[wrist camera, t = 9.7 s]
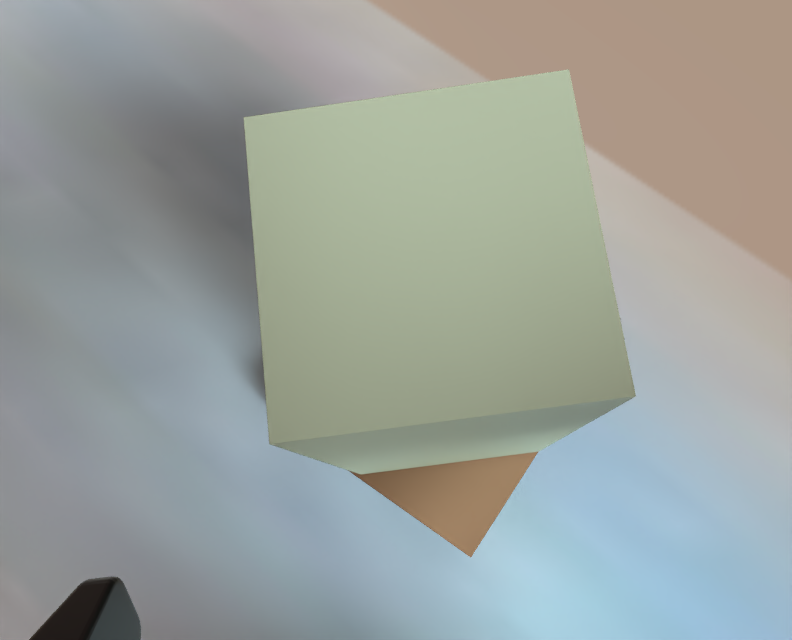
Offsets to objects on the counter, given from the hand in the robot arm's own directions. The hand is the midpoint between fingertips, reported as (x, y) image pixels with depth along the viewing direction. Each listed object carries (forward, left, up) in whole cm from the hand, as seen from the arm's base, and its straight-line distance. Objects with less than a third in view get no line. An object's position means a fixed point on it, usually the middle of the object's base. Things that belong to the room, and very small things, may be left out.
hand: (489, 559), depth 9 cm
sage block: (+3, -3, -12) cm, 12 cm away
